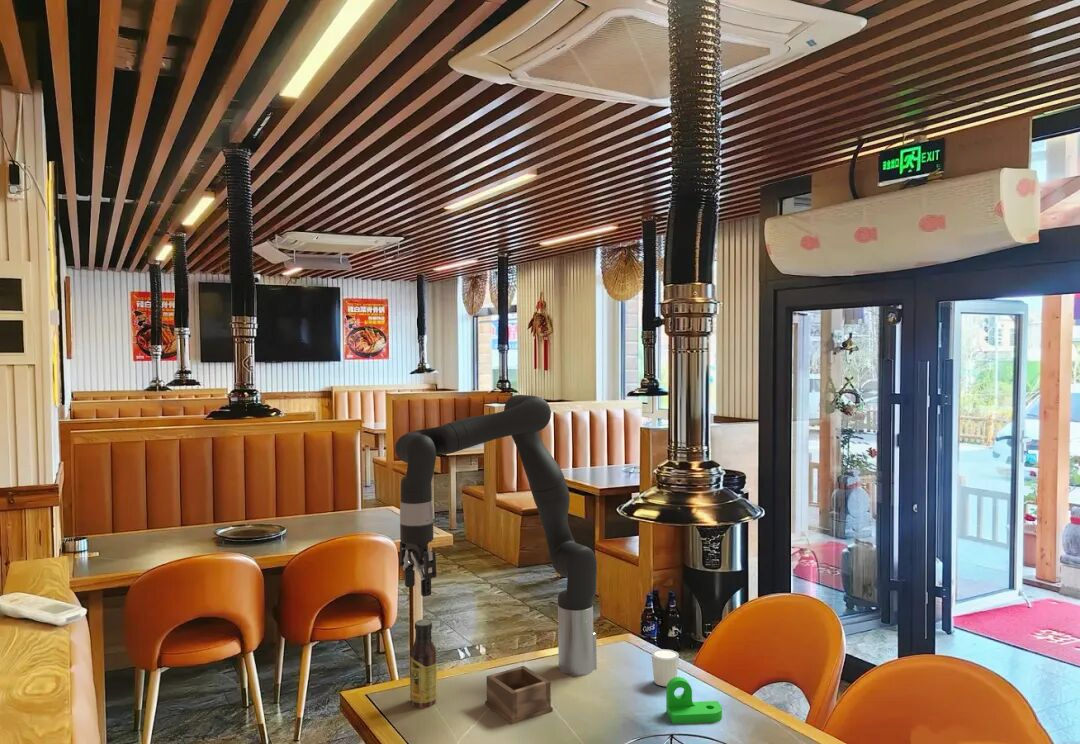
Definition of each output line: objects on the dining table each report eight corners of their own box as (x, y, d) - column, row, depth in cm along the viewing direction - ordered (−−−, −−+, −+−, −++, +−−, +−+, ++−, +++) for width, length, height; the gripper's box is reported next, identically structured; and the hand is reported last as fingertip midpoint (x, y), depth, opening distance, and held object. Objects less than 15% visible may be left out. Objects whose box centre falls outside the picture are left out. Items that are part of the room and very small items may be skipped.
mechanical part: (672, 724, 173) (672, 688, 173) (666, 711, 179) (666, 677, 179) (725, 721, 174) (725, 686, 174) (717, 709, 180) (717, 675, 180)
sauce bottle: (407, 701, 186) (406, 618, 185) (433, 696, 188) (431, 615, 188) (414, 712, 180) (412, 627, 179) (440, 707, 182) (439, 623, 182)
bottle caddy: (524, 693, 189) (523, 664, 189) (552, 712, 179) (552, 682, 179) (485, 705, 183) (484, 676, 183) (512, 725, 173) (511, 694, 173)
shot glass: (662, 673, 200) (662, 646, 200) (684, 681, 195) (684, 653, 195) (646, 681, 195) (645, 654, 195) (668, 689, 190) (668, 661, 190)
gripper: (445, 523, 174) (447, 595, 175) (417, 513, 186) (419, 580, 186) (415, 528, 170) (416, 602, 170) (388, 517, 182) (389, 586, 182)
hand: (417, 590), depth 178 cm, fingers open, 8 cm apart
